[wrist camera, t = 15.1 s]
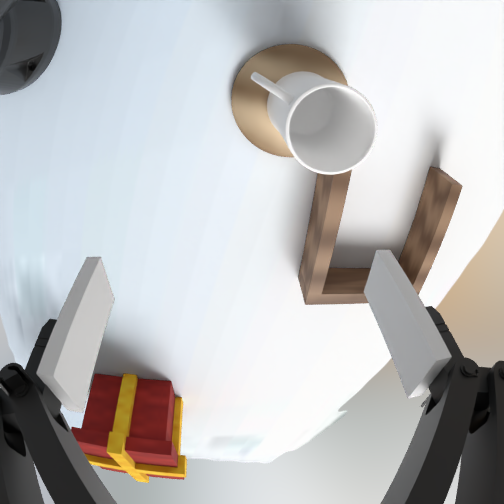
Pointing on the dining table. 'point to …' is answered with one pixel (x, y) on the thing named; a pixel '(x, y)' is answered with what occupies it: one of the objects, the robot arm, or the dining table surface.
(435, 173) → the cradle
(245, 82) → the coaster
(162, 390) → the gift box
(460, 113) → the dining table surface
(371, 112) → the mug
